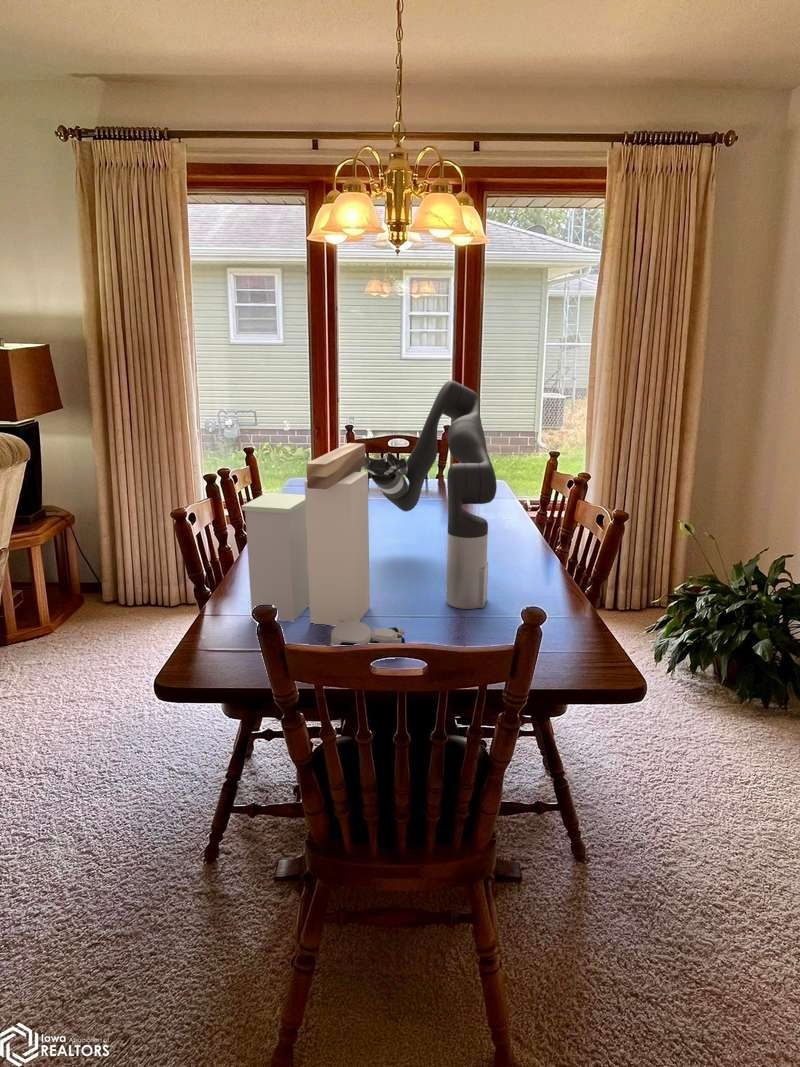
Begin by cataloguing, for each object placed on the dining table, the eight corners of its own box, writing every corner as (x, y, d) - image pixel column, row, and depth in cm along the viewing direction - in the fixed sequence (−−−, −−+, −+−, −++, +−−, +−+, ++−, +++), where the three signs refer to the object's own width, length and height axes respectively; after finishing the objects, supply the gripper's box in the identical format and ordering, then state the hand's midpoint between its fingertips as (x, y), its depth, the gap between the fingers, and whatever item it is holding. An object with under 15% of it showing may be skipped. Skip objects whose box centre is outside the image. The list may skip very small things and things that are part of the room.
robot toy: (405, 641, 151) (334, 635, 151) (406, 621, 149) (335, 615, 150) (402, 668, 139) (326, 661, 139) (404, 647, 138) (327, 640, 138)
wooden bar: (365, 465, 165) (365, 443, 164) (326, 489, 141) (325, 464, 139) (349, 464, 166) (348, 443, 165) (307, 488, 142) (306, 463, 140)
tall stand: (369, 608, 166) (367, 472, 157) (353, 628, 155) (350, 483, 146) (329, 604, 168) (324, 470, 159) (310, 623, 157) (304, 481, 148)
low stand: (316, 601, 170) (312, 495, 162) (294, 623, 158) (289, 508, 150) (273, 597, 172) (267, 492, 165) (249, 618, 160) (241, 505, 153)
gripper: (364, 461, 194) (347, 440, 179) (415, 464, 191) (402, 442, 176) (360, 488, 193) (342, 468, 177) (411, 491, 189) (398, 471, 174)
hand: (372, 455), depth 176 cm, fingers open, 8 cm apart
